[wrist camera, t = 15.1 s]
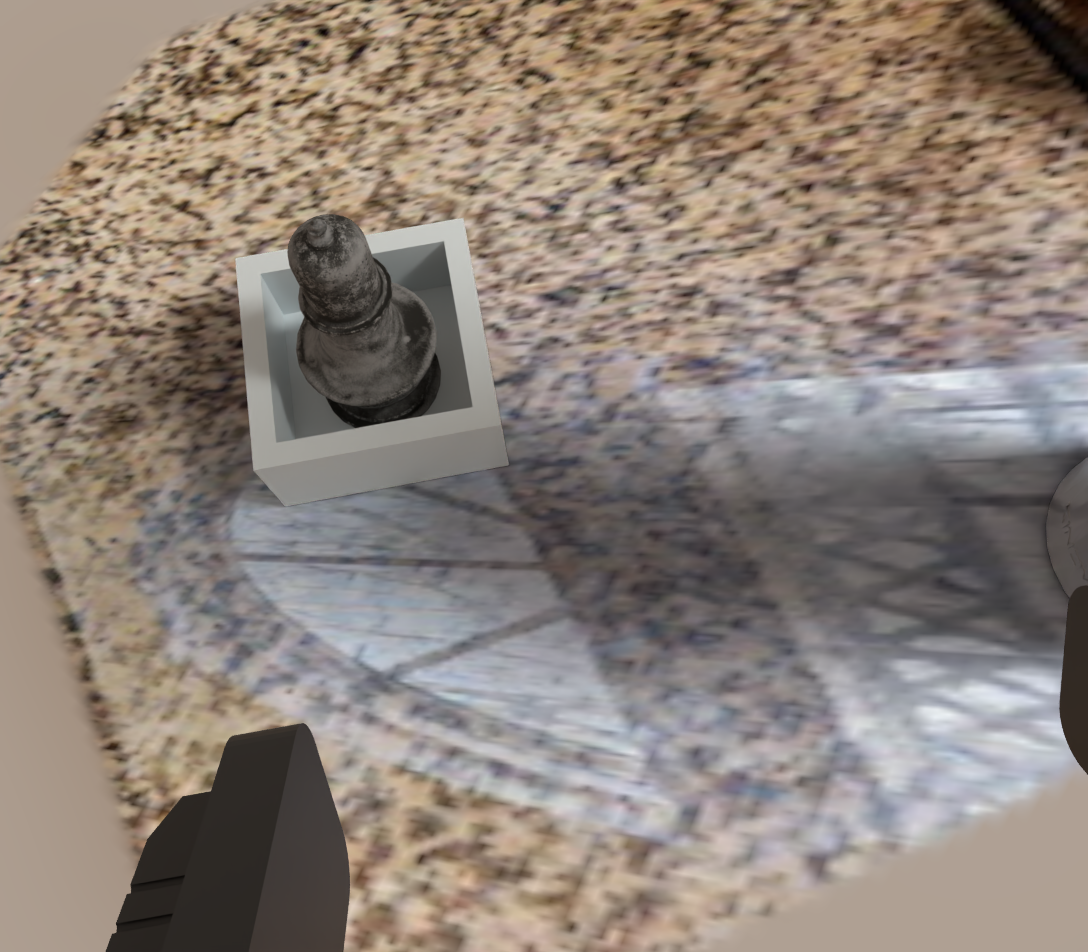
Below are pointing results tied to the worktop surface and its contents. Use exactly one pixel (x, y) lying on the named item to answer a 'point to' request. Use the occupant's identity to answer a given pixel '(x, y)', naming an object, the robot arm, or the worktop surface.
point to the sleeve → (384, 449)
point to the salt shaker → (360, 328)
